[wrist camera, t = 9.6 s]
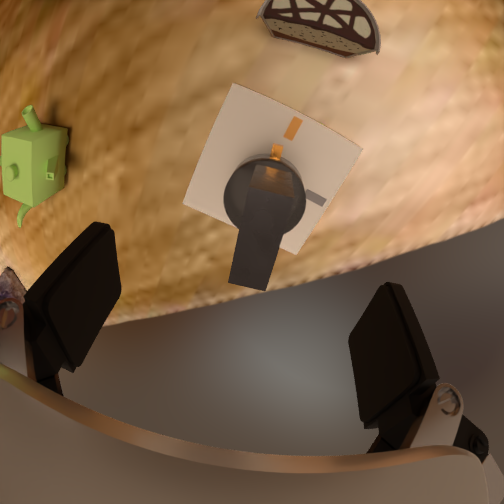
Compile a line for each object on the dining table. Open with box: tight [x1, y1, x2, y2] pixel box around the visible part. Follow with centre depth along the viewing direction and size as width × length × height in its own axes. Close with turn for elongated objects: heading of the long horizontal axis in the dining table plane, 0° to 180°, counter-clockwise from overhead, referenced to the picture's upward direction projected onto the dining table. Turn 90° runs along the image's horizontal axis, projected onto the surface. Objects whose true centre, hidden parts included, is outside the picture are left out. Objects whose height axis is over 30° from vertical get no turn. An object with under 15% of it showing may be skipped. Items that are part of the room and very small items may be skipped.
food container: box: [256, 0, 381, 58], centre depth 20 cm, size 12×6×10 cm, turn 77°
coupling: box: [223, 143, 306, 291], centre depth 24 cm, size 9×8×12 cm
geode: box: [0, 267, 27, 304], centre depth 55 cm, size 20×12×10 cm, turn 21°
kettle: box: [0, 105, 69, 228], centre depth 31 cm, size 15×14×11 cm
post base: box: [182, 83, 363, 255], centre depth 32 cm, size 18×18×7 cm
